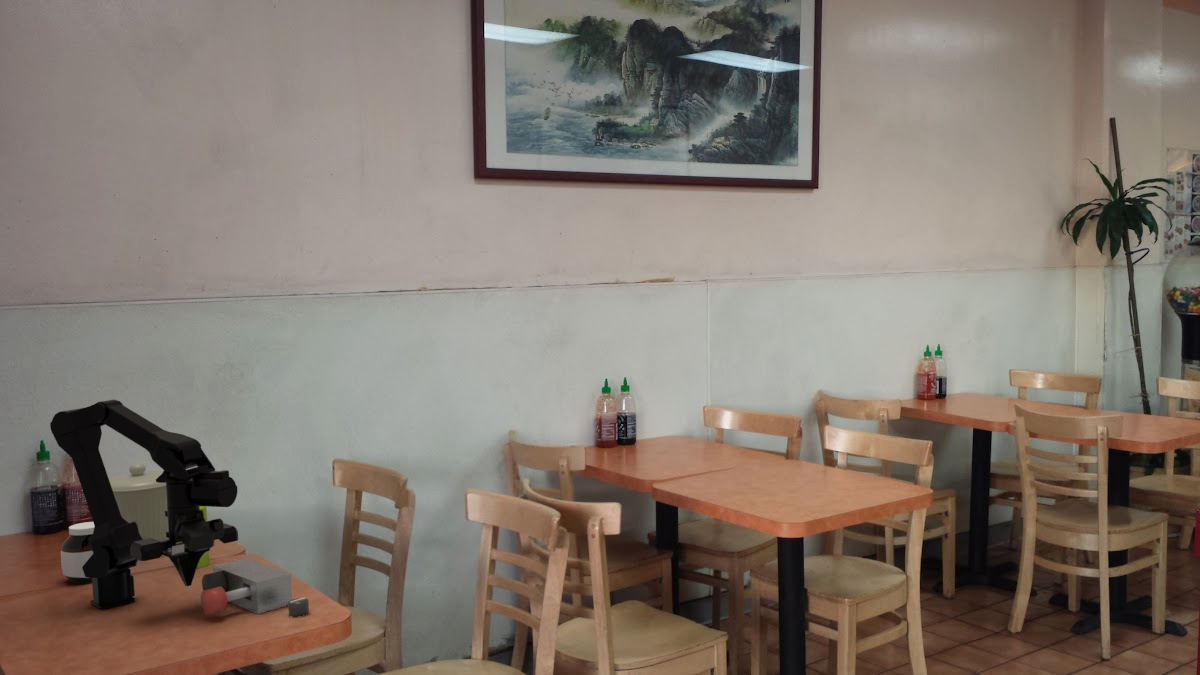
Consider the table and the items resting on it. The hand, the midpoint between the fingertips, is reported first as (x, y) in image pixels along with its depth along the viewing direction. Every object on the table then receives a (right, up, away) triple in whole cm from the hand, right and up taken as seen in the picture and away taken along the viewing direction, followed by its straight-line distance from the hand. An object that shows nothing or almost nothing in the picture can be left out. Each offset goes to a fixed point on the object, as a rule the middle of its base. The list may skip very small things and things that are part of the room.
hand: (187, 585), depth 191 cm
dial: (+23, -4, -5) cm, 24 cm away
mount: (+11, -4, +4) cm, 12 cm away
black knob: (+7, -3, +7) cm, 10 cm away
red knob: (+11, -3, -3) cm, 12 cm away
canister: (-29, -3, +45) cm, 54 cm away
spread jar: (-32, -4, +25) cm, 41 cm away
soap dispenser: (-11, -3, +30) cm, 33 cm away
